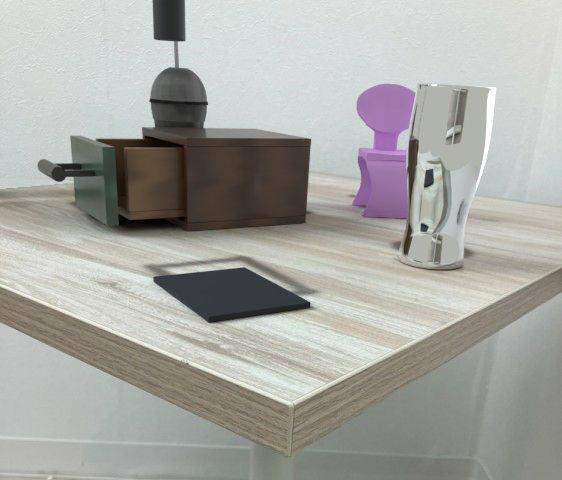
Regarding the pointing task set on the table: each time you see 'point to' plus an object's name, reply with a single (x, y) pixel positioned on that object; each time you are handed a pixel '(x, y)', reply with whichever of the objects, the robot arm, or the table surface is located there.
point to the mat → (229, 293)
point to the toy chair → (384, 151)
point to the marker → (169, 20)
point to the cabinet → (240, 176)
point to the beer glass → (444, 170)
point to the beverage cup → (178, 98)
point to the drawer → (124, 177)
